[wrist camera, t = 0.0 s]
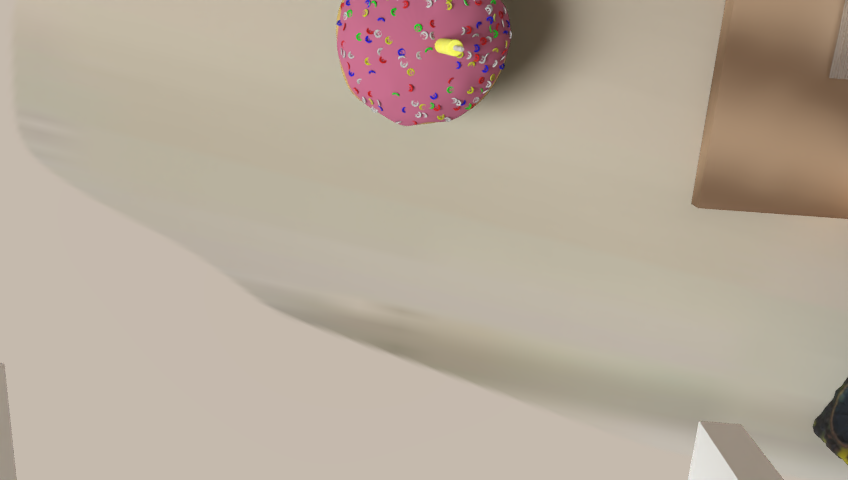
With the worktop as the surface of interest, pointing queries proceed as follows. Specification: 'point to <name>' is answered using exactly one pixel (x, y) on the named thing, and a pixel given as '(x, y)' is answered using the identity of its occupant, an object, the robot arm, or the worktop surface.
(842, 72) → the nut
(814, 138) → the base board
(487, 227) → the worktop surface
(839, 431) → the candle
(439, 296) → the worktop surface
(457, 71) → the cupcake
